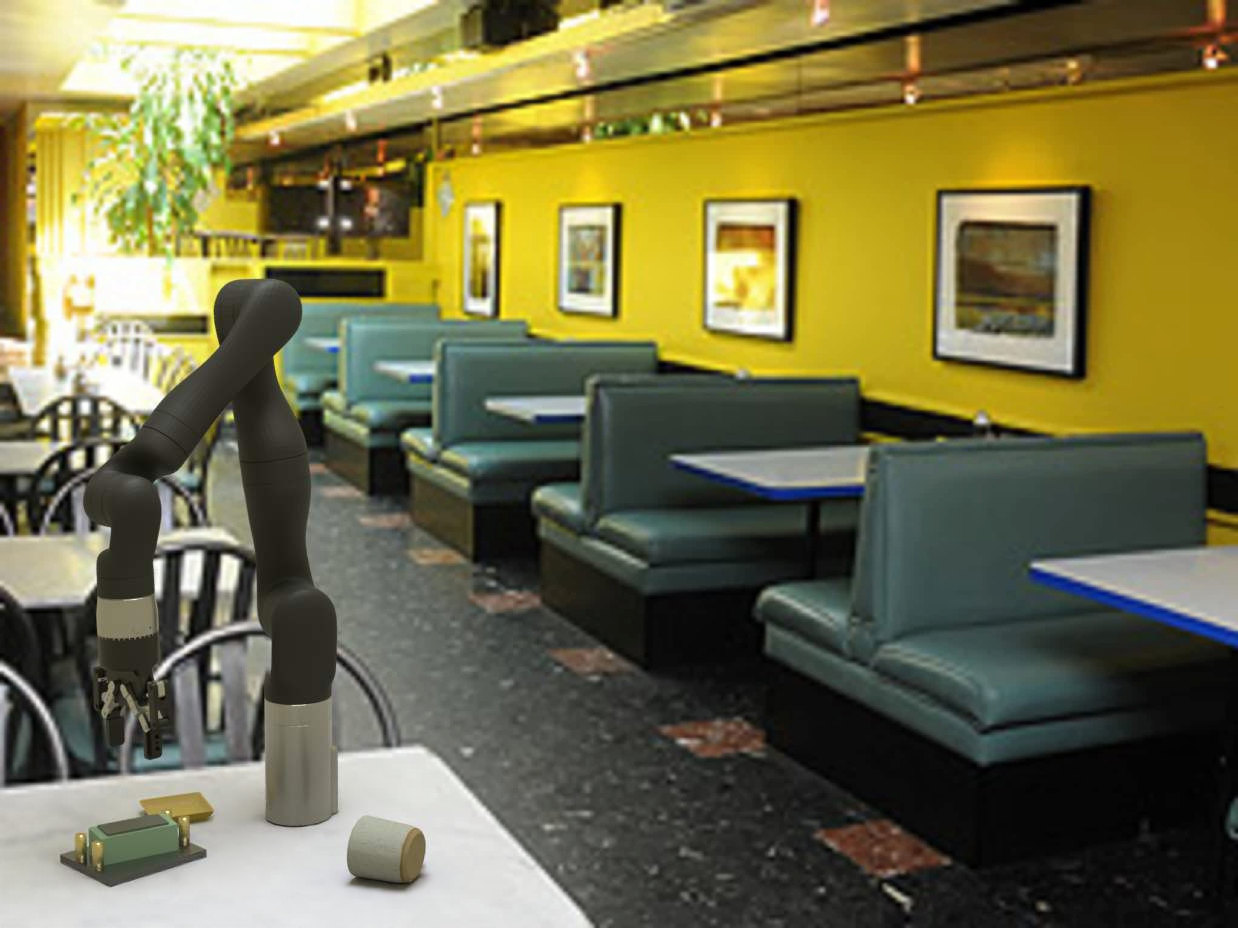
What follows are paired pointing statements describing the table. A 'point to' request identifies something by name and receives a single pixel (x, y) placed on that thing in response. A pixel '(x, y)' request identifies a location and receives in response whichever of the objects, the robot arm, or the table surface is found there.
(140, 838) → the green rectangular block
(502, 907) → the table surface
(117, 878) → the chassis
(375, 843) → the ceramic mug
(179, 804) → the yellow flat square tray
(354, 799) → the table surface
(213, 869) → the table surface
